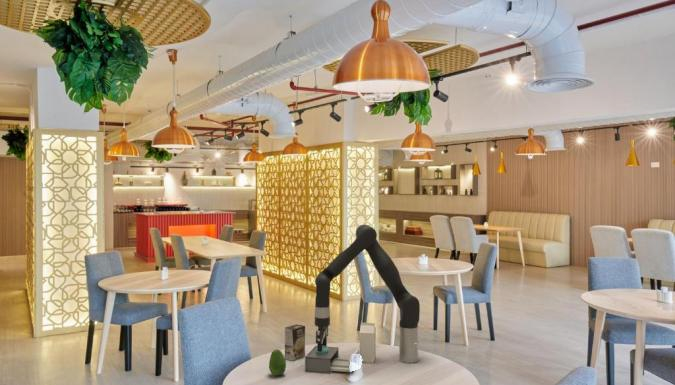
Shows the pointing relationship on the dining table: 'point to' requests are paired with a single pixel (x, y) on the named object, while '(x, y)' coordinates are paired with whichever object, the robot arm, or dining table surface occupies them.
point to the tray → (341, 364)
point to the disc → (323, 350)
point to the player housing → (320, 360)
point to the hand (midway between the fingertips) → (322, 348)
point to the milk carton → (368, 342)
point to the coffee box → (294, 342)
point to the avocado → (277, 363)
